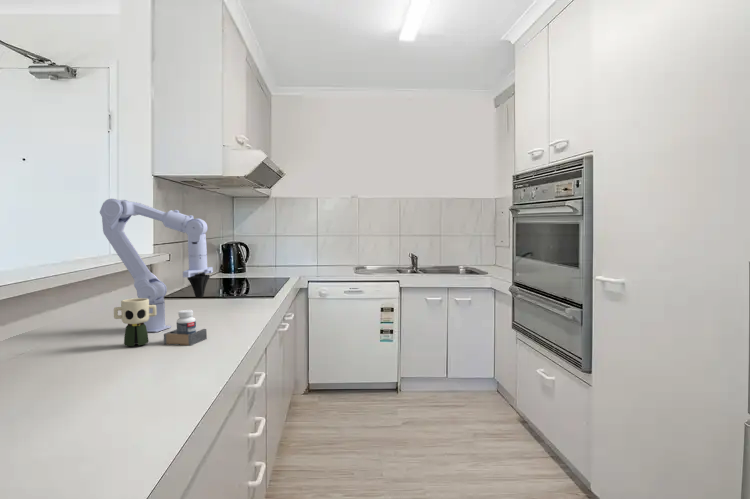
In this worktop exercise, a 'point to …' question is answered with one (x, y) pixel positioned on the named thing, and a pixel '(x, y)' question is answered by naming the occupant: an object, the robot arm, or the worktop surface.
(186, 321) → the pill bottle
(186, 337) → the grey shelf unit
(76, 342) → the worktop surface
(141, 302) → the character mug
